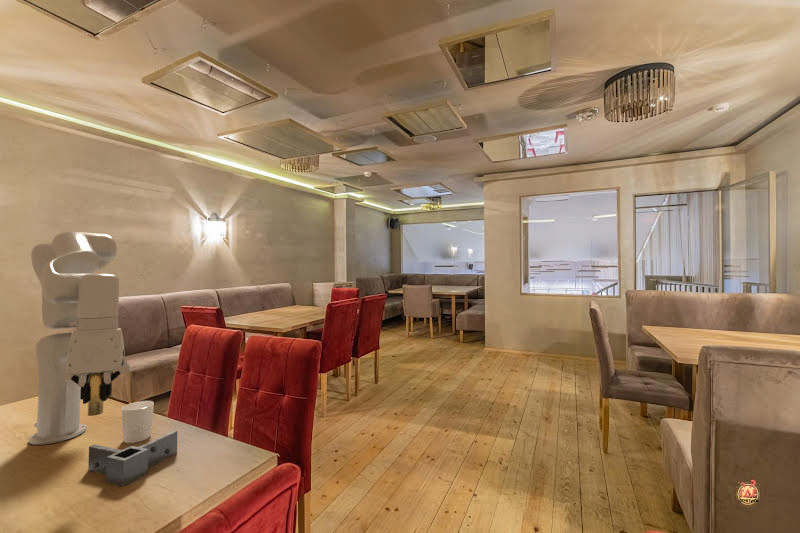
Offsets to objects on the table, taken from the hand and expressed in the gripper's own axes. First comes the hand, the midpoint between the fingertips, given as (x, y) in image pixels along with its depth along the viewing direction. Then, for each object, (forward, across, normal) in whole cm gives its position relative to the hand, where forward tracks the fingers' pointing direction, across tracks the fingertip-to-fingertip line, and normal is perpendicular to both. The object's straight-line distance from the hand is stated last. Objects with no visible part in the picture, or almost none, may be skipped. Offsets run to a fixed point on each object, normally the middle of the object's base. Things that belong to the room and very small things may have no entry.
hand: (96, 400), depth 83 cm
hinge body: (+20, +6, +6) cm, 21 cm away
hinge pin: (+3, 0, 0) cm, 3 cm away
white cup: (+20, +4, +24) cm, 31 cm away
